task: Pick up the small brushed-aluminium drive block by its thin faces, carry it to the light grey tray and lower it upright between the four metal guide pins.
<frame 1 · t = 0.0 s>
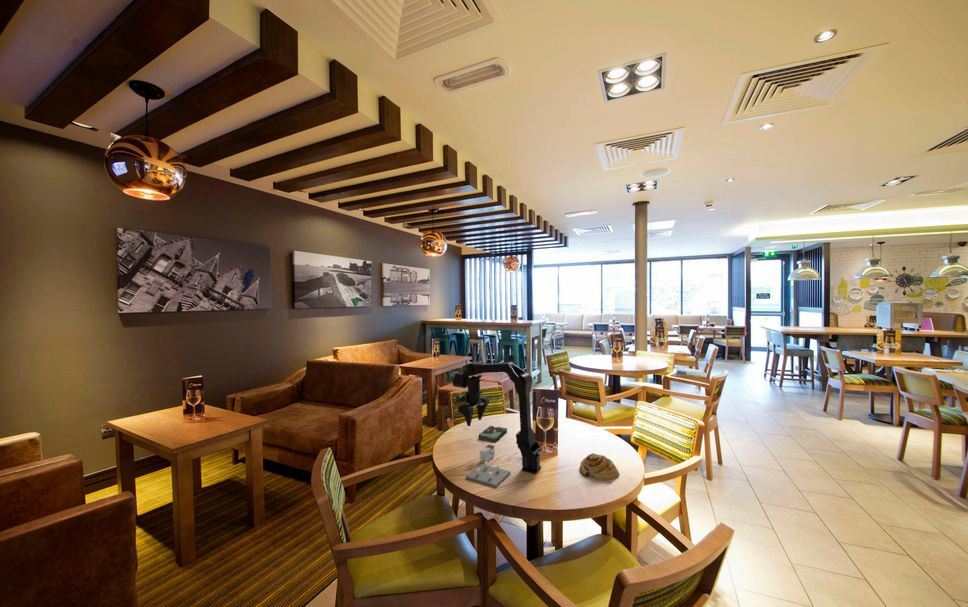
hand: (474, 423, 158), 15 cm above the table, fingers open, 9 cm apart
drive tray: (488, 476, 138), on the table
pastry: (598, 473, 140), on the table
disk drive: (493, 436, 181), on the table
drive block: (487, 459, 154), on the table
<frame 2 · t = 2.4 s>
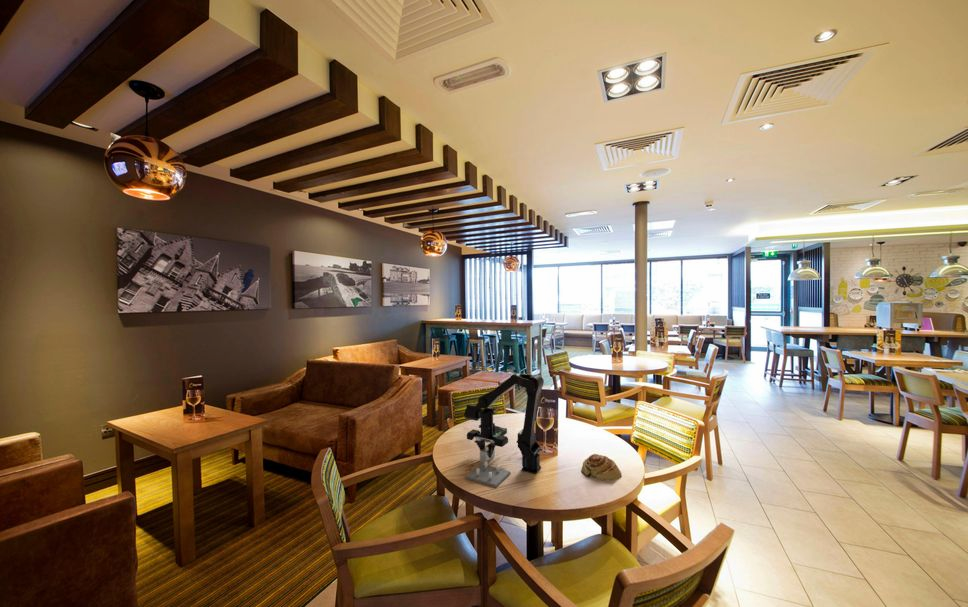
hand: (487, 456, 154), 1 cm above the table, fingers closed on drive block, 3 cm apart
drive block: (487, 459, 154), on the table, touching gripper
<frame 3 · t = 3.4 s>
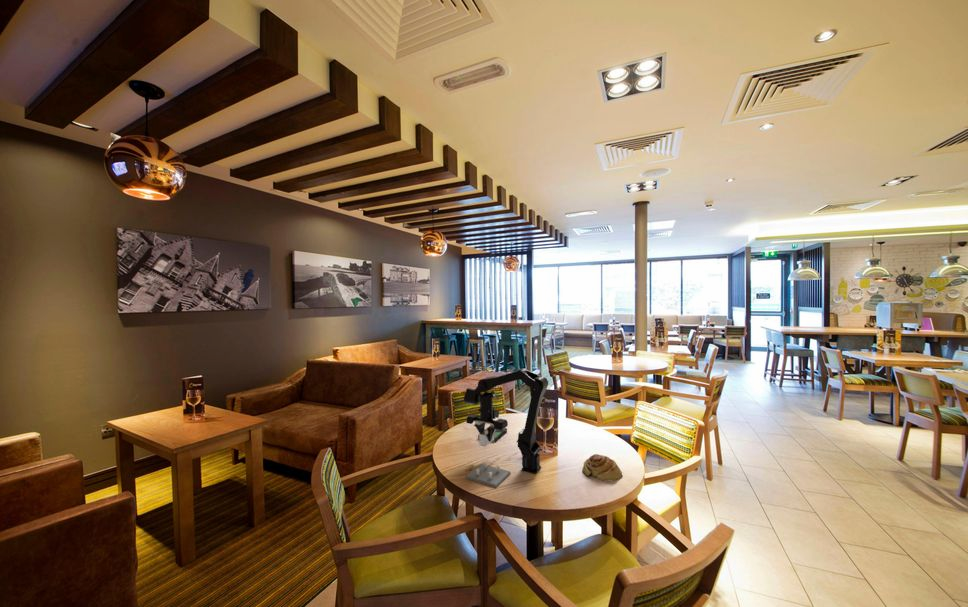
hand: (486, 440, 154), 8 cm above the table, fingers closed on drive block, 3 cm apart
drive block: (486, 442, 154), point 7 cm above the table, touching gripper
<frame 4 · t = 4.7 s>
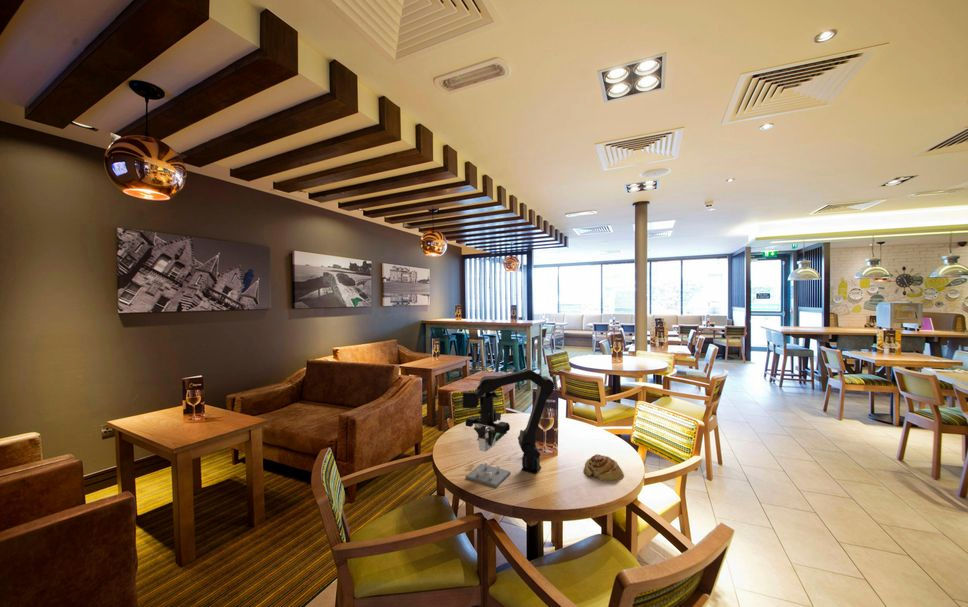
hand: (487, 444, 142), 11 cm above the table, fingers closed on drive block, 3 cm apart
drive block: (487, 447, 142), point 10 cm above the table, touching gripper
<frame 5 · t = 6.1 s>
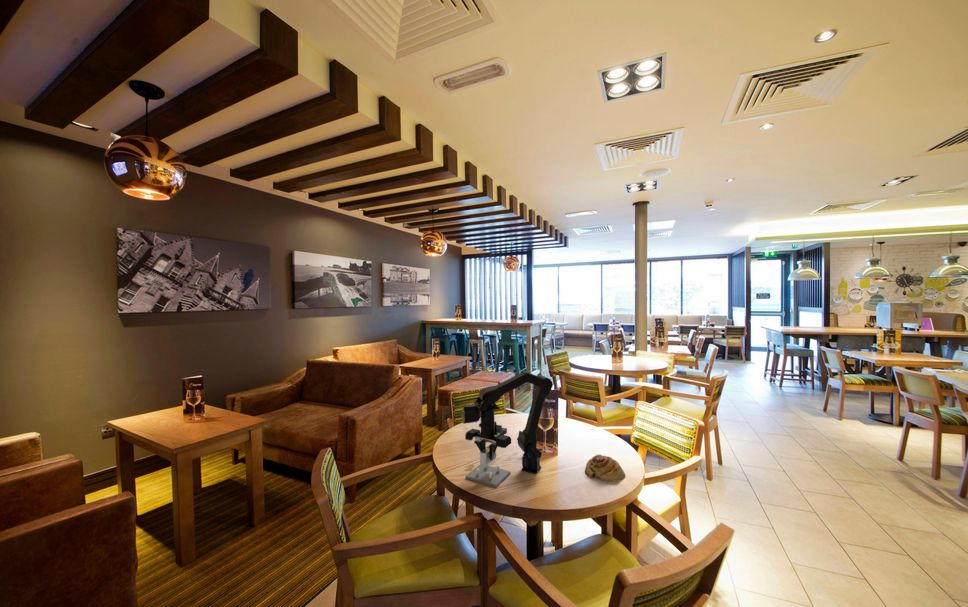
hand: (488, 458, 138), 7 cm above the table, fingers closed on drive block, 3 cm apart
drive block: (488, 461, 138), point 6 cm above the table, touching gripper
when the fingers open (3 cm above the table, at t = 7.2 s): drive block stays where it is, resting on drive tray.
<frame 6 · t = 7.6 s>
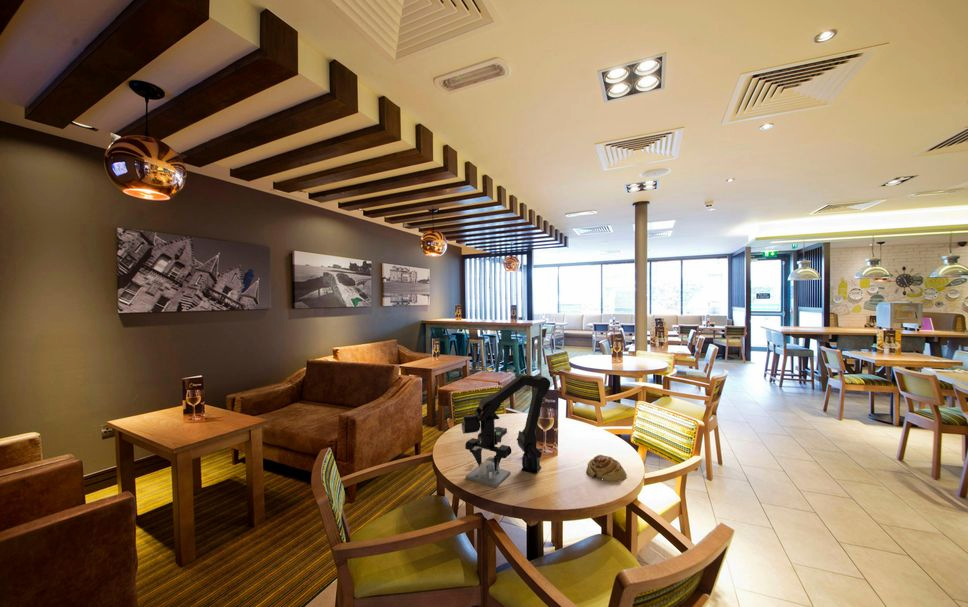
hand: (488, 468, 138), 3 cm above the table, fingers open, 7 cm apart
drive block: (488, 473, 138), point 1 cm above the table, touching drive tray
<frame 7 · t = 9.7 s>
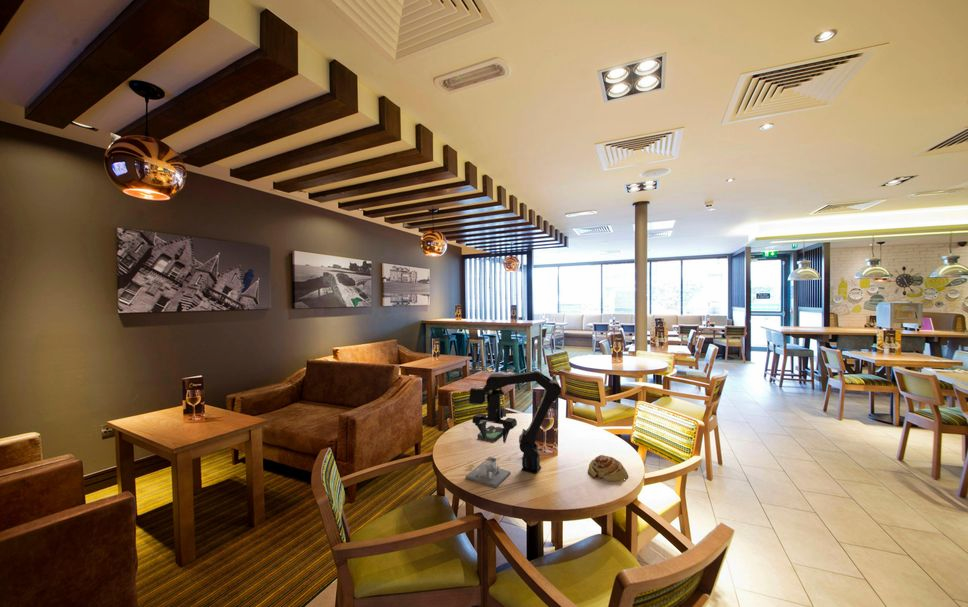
hand: (494, 440, 146), 11 cm above the table, fingers open, 9 cm apart
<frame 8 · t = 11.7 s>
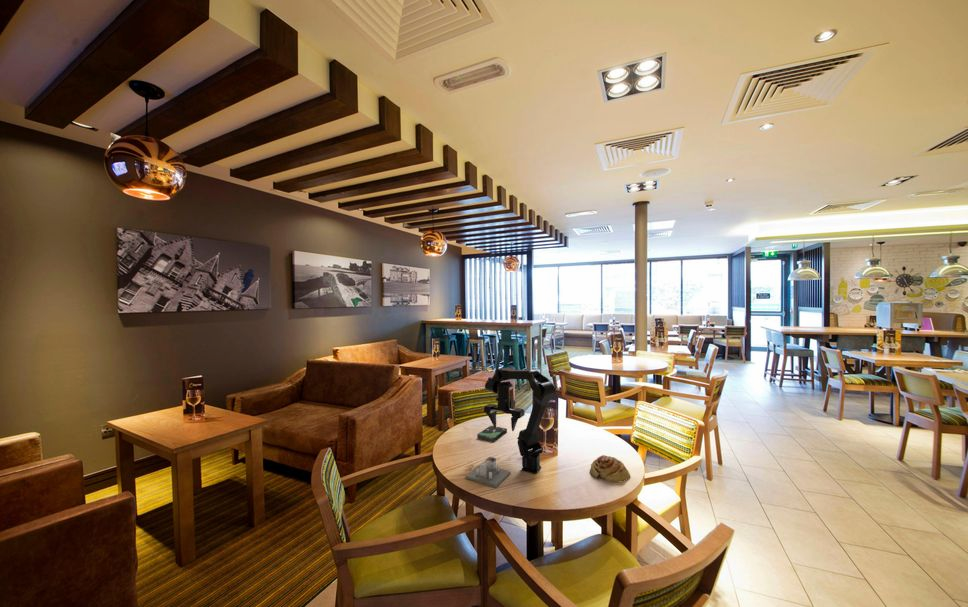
hand: (504, 429, 157), 12 cm above the table, fingers open, 9 cm apart
at the end: drive block 0.0 cm off-centre on the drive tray, point 1.0 cm above the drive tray's base; drive block tilted 0°; the gripper is holding nothing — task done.
